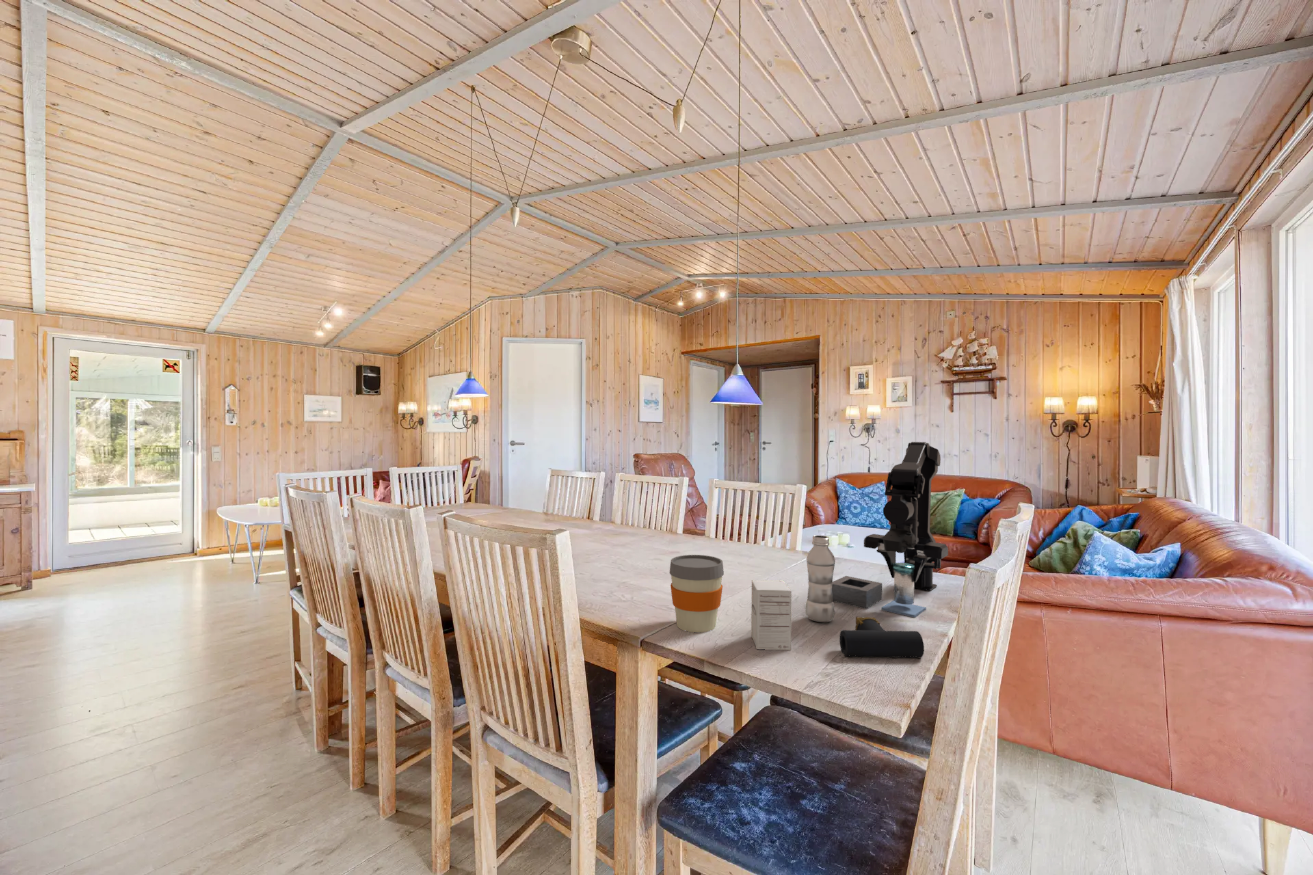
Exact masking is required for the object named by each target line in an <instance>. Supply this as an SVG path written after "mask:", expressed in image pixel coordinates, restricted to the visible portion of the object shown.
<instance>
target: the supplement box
mask: <svg viewBox="0 0 1313 875" xmlns="http://www.w3.org/2000/svg"><path fill="white" fill-rule="evenodd" d="M750 615H751V616H750V618H751V619H750V623H751V624H750V626H751V627H750V629H751V630H750V635H751V638H752V640H753V642H754V646H755V649H756V650H757V649H765V650H764V651H791V650H792V590H791V588H790V586H788V584H787V583H786V582H785V581H784V580H780V579H777V580H776V579H775V580H774V579H771V580H770V579H769V580H768V579H756V580H754V579H753V580H751V614H750Z"/></svg>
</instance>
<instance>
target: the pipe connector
mask: <svg viewBox="0 0 1313 875" xmlns="http://www.w3.org/2000/svg"><path fill="white" fill-rule="evenodd" d="M839 646H840V647H839V648H840V652H841V653H842V654H843V655H844V657H855V658H856V657H857V656H858V657H862V658H863V657H865V658H866V657H867V658H870V657H871V658H873V657H874V658H921V659H922V658H923V657H924V653H925V644H924V640H923V637H922V635H921V633H920V632H919V631H917V630H885V629H884V628H883V627H882V626H881V622H880V621H879V620H878V619H877V618H875V617H871V616H866V617H861V616H857V617H855V627H854V629H853V630H852V629H842V630H840V632H839Z"/></svg>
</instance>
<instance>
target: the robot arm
mask: <svg viewBox="0 0 1313 875" xmlns="http://www.w3.org/2000/svg"><path fill="white" fill-rule="evenodd" d="M939 467H941V454H940V451H939V449H937V448H935V447H933V446H931V445H930V443H929V442H926V441H911V442H908V445H907V448H906V449H905V455H904V457H903V460H902V462H901V463H898V464H895V465H893V467H892V468H891V469H890V471H889V472H887V473H888V474H887V479H886V483H885V484H886V486H885V491H884V496H885V497H887V496H888V497H891V498H890V500H889V501H887V502H886V503H885V504H884V506H883V510H882V513H883V516H884V518H885V519H886V520H887V521H888V522H889V523H890V525H889V530H888V531H887V532H886V533H885V534H876V533H872V534H869V535H866V536H865V537H864V538H863V548H868V549H874V550H875V549H876V551H875V552H876V553H879V554H880V555H881V556H882V557H883V559H884V561H885V562H886V565H887V567H888V568H887V569H888V571H889V574H890V575H891V578H892V579H894V570H893V564H894V563H897V560H896V559H897V553H899V554H903V560H904V562H903V563H908V564H912V565H914V574H913V580H914V589H916V590H917V589H918V590H922V591H928V592H929V591H930V592H931V591H932V590H933V589H936V588H937V587H938V585H937V584H935V583H933V582H934V580H933V579H934V570H937V569H941V567H942V565H941V564H942V562H941V561H942V559H944V558H946V557H948V556H949V548H948V546H947V544H946V543H941V542H937V541H936V539H935V538H934V536H933V535H932V533H931V503H932V502H931V501H932V480H933V479H934V478H935V476H936V475H937V473H938V470H939Z"/></svg>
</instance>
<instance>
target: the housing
mask: <svg viewBox="0 0 1313 875" xmlns="http://www.w3.org/2000/svg"><path fill="white" fill-rule="evenodd" d="M832 596H833V602H836V603H841V604H845V605H849V606H853V607H856V608H861V609H865V610H867V609H869V608H871V607H872V606H875V605H876V604H878V603H879V602H881V601H882V600H883V582H879V581H873V580H868V579H863V578H857V577H853V576H849V575H848V576H847V575H845V576H842V577H840V578H838V579H836V580H833V581H832Z"/></svg>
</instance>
